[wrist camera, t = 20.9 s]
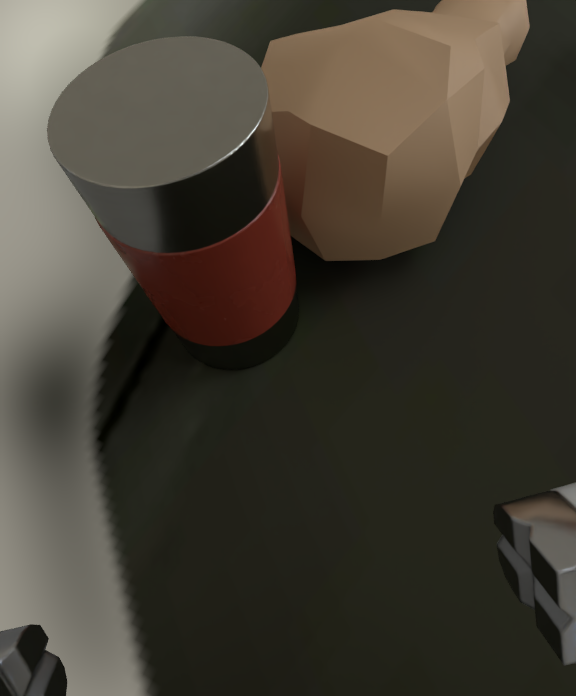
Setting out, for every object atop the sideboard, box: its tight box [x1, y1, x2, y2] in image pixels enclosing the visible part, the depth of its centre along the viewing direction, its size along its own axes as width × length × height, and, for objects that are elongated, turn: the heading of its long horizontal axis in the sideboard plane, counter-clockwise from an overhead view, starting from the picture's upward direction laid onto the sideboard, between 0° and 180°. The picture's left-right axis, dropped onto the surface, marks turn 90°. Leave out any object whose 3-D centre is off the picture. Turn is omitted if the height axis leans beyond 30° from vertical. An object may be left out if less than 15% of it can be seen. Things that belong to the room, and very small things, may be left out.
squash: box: [261, 0, 530, 261], centre depth 22 cm, size 11×20×9 cm, turn 147°
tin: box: [47, 36, 299, 370], centre depth 17 cm, size 6×6×11 cm
